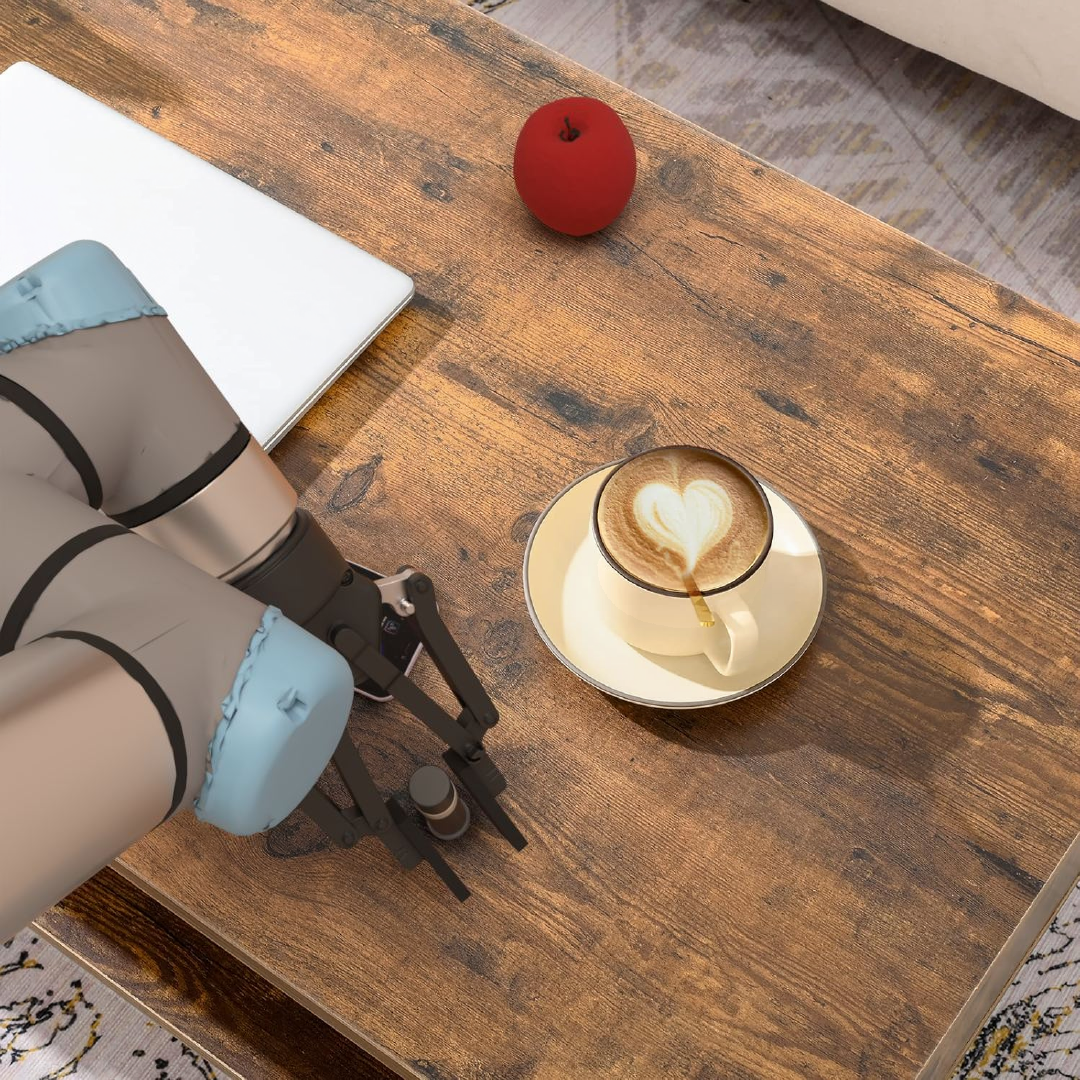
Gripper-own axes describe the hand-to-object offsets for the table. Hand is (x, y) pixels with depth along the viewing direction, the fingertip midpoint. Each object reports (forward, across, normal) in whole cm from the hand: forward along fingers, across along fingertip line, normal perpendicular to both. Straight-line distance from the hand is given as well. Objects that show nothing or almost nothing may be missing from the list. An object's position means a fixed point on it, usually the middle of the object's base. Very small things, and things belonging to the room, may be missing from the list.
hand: (485, 861), depth 66 cm
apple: (-21, -36, -25) cm, 49 cm away
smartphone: (-12, -2, -16) cm, 20 cm away
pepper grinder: (-1, 0, -5) cm, 5 cm away
